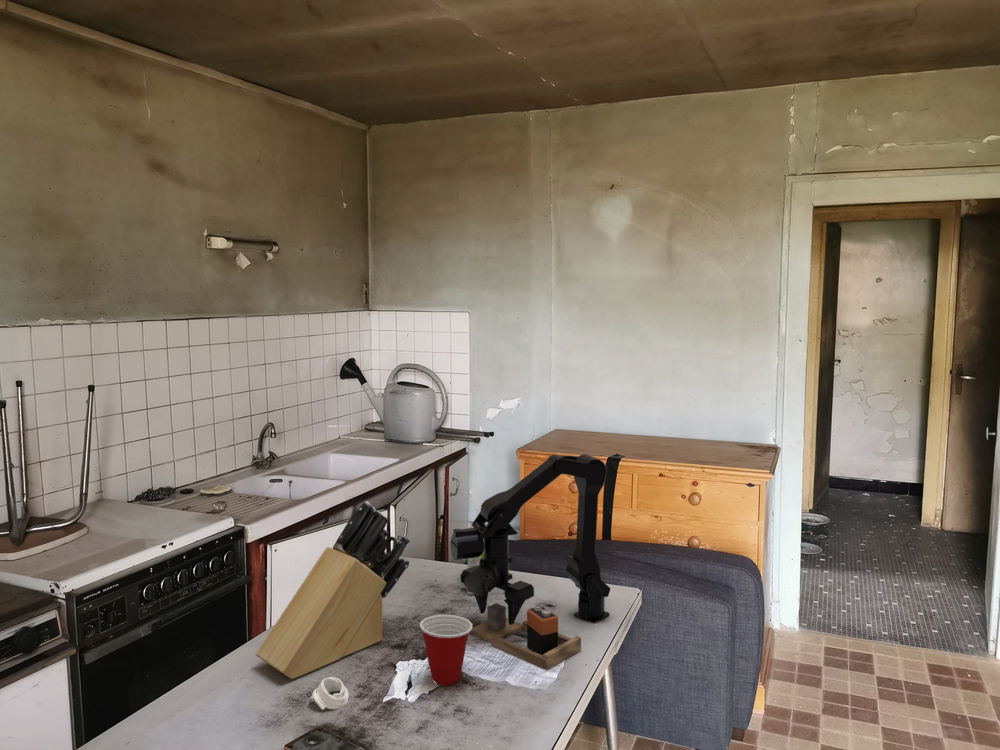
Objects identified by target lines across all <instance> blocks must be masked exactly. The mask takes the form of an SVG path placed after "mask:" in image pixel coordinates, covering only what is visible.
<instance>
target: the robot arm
mask: <svg viewBox="0 0 1000 750" xmlns="http://www.w3.org/2000/svg"><path fill="white" fill-rule="evenodd" d="M561 475H565V476H572V477H573V480H574V482H575V483H574V484H575V486H576V489H577V491H578V492H577V493H578V497H577V499H578V500H577V518H576V519H577V520H576V540H575V550H574V552H573V553H572V555H566V562H567V563H566V564H567V565H566V569H565V572H566V573H567V575H568V579H570V580H571V581H572V582H573V583H574V585H575V587H576V588H578V589H579V592H578V600H577V601H578V603H577V606H578V607H577V611H576V612H574V613H573V617H576V618H578V619H581V620H584V621H587V622H590V623H593V624H596V623H598V622H600V621H602V620H603V619H605V618H607V617H610V612H608V611H605V598H608V597H609V595H610V592H611V587H610V586H608V585H607V584H606V583H605V582H604V580H602V575H601V566H600V563H599V560H598V556H597V554H596V547H597V528H598V527H597V526H598V525H597V523H598V511H599V509H598V508H599V506H598V505H599V495H600V493H601V491H602V489H603V487H604V485H605V482H606V476H607V465H606V464H605V462H603V460H601V459H599V458H596V457H594V456H592V455H590V454H587V453H586V454H585V453H584V454H580V455H579V456H578V455H577V456H574V455H561V454H560V455H559V454H556V453H555V454H551V455H550V456H548V457H547V459H546V460H545V461H544V462H543V463H541V464H540V465H539V466H537V467H536V468H534V469H533V470H532V471H531V472H530V473H529V474H527V475H526V476H525V477H523V478H522V479H521V480H520V481H518V482H517V483H515V484H514V486H512V487H511V488H509V489H507V490H505V491H504V490H503V491H501V492H498V493H496V494H494V495H492V496H491V497H489V498H487V499H485V500H484V501H483V502H482V504H481V506H480V511H479V513H478V514H477V516H476V518H475V519H474V520H473V522H472V523H471V524H472V527H473V528H470V527H468V528H454V529H453V530H452V535H451V538H450V543H449V545H450V546H449V547H450V552H451V554H450V555H451V557H452V559H453V560H454V561H461V560H467V559H468V558H475V557H479V556H480V555H482V553H483V551H484V558H481V559H480V561H479V566H477V565H476V566H473V567H470V568H468V569H467V568H465V569H463V570H462V572H461V573H460V583H462V584H464V586H465V587H466V589H467V590H468V592H469V593H473V594H472V595H473V596H474V598H475V601H476V604H477V606H478V609H479V612H480V614H485V613H486V610H487V605H488V597H489V594H488V592H490V591H491V590H492V589H494V588H495V587H496V588H499V589H502V590H504V593H503V594H504V597H505V599H504V600H503V601H504V603H505V604H506V605H507V612H508V613H507V616H508V618H507V619H508V620H509V625H512V624H514V622H516V619H517V617H518V615H519V613H520V611H521V609H522V607H523V605H524V604H525V602H526V601H527V600H529V599H531V598H533V597H535V587H534V586H533V585H532V584H531V583H528V582H525V581H523V580H518V581H516V582H514V583H511V582H509V581H510V580H513V574H512V573H509V572H510V571H509V570H510V566H509V565H510V563H512V562H513V557H512V556H509V553H510V552H509V551H510V550H509V548H510V547H509V536H515V535H517V534H518V531H517V530H516V529H515V528H514V527H513V526H512V524H510V523H512V521H513V520H514V519H515V518H516V517H517V516H518V514H519V512H520V509H521V508H522V507H523V506H524V505H525V504H526V503H527V502H528V501H529V500H531V499H533V498H534V497H535V496H536V495H538V493H539V492H541V491H542V490H543V489H545V488H546V487H547V486H548V485H550V484H551V483H552V482H553V481H554V480H556V479H558V478H559V477H560V476H561ZM486 523H487V526H486V525H484V524H486ZM483 539H484V540H483Z"/></svg>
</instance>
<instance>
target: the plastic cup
mask: <svg viewBox="0 0 1000 750" xmlns="http://www.w3.org/2000/svg"><path fill="white" fill-rule="evenodd" d="M472 628H473V623H472V622H471V621H470V620H469V619H467V618H465V617H463V616H457V615H453V614H436V615H431V616H427V617H425V618H424V619H422V620H421V621H420V623H419V629H420V630H421V632H422V636H423V641H424V645H425V651H426V657H427V663H428V666H429V669H430V675H431V679H433V680H434V681H435V682H436V683H437V684H436V683H435V684H436V685H438V686H442V687H443V686H447V687H448V686H452V685H456V684H458V683H459V681H460V679H461V677H462V670H463V665H464V660H465V654H466V653H465V652H466V648H467V642H468V638H469V636H470V631H471V630H472ZM433 680H432V681H433Z"/></svg>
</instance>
